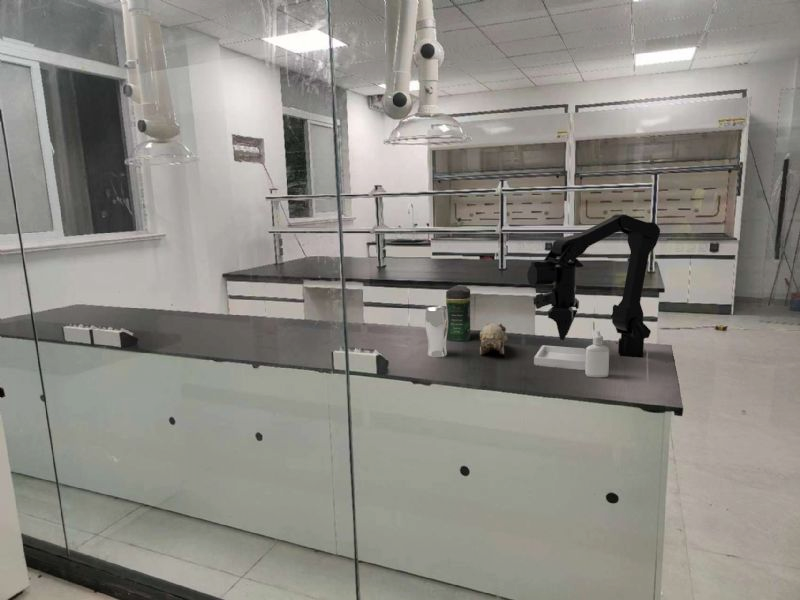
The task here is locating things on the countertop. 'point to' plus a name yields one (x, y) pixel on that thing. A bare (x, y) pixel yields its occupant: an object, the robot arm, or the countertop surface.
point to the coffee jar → (458, 313)
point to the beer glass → (436, 330)
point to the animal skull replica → (492, 338)
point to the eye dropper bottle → (597, 358)
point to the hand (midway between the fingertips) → (563, 337)
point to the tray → (561, 357)
